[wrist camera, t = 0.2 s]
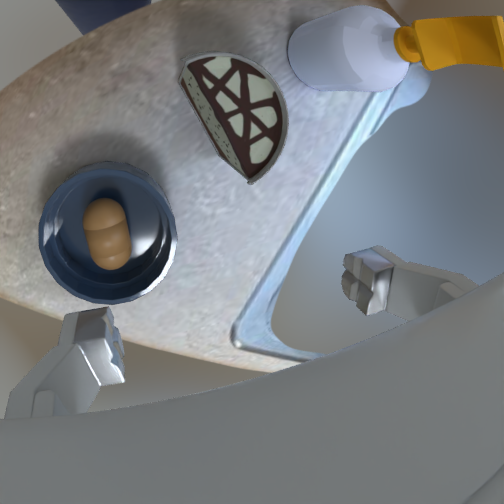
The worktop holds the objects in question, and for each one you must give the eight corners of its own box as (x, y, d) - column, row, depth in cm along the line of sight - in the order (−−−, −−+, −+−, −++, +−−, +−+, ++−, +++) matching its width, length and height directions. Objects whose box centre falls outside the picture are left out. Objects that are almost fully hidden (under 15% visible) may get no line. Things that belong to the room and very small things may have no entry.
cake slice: (271, 141, 35) (316, 154, 26) (224, 167, 34) (255, 189, 26) (223, 45, 28) (256, 24, 20) (171, 70, 28) (183, 54, 19)
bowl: (37, 177, 27) (22, 188, 23) (162, 149, 31) (166, 156, 27) (70, 290, 34) (63, 314, 30) (180, 268, 38) (186, 290, 34)
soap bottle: (274, 31, 29) (459, -26, 8) (336, 16, 30) (516, -13, 9) (302, 100, 34) (495, 126, 13) (360, 79, 35) (540, 98, 14)
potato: (81, 197, 30) (73, 211, 26) (122, 188, 31) (120, 201, 27) (97, 261, 33) (93, 281, 29) (135, 253, 34) (136, 273, 31)
